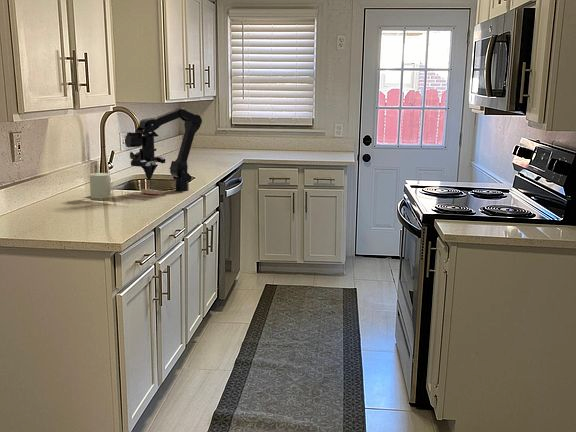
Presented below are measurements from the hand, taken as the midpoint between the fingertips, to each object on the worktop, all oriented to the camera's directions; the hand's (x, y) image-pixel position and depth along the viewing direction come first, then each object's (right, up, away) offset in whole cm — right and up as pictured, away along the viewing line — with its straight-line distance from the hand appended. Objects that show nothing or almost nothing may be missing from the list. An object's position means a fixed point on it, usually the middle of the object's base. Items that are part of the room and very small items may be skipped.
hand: (148, 179), depth 274 cm
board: (-3, -9, -4) cm, 10 cm away
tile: (-1, -6, 0) cm, 6 cm away
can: (-21, -10, -7) cm, 24 cm away
